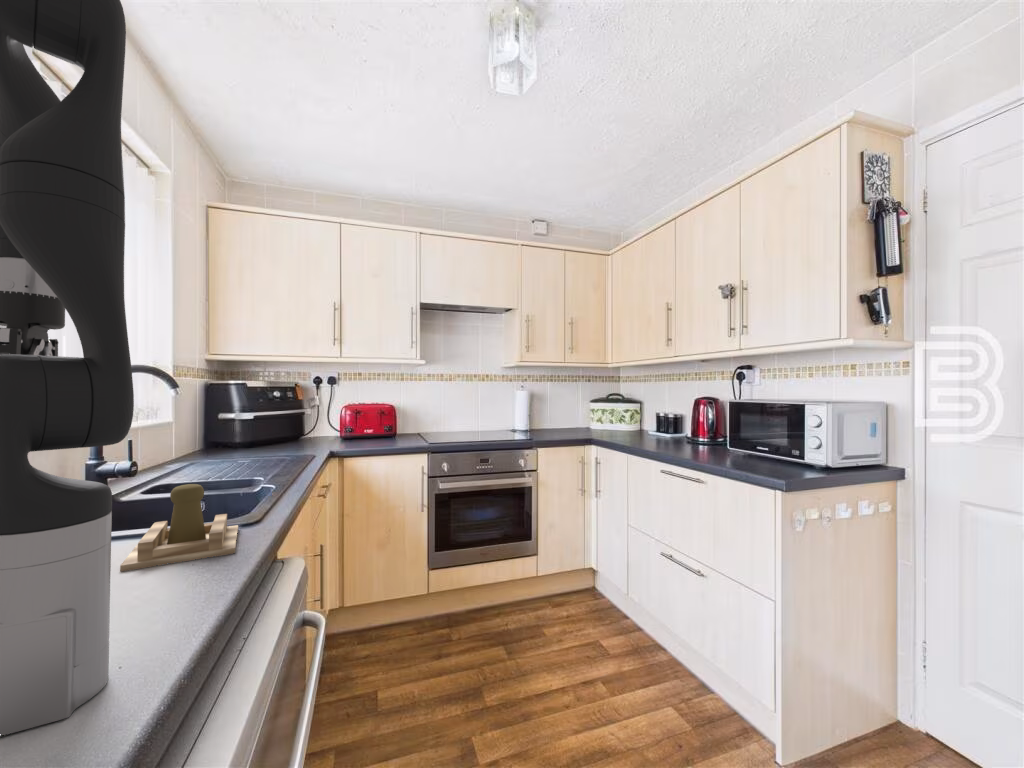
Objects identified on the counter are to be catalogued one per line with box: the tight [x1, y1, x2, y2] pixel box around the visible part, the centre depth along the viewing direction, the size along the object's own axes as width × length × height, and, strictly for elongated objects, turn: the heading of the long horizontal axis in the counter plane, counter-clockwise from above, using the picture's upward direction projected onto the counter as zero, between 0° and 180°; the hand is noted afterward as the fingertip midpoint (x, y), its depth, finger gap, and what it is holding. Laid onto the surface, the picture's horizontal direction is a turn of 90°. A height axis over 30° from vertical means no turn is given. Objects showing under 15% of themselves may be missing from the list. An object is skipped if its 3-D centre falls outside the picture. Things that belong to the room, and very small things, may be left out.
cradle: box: [119, 513, 239, 573], centre depth 82 cm, size 16×16×4 cm
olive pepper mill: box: [167, 483, 206, 545], centre depth 82 cm, size 6×6×11 cm
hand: (26, 403), depth 64 cm, fingers open, 8 cm apart
